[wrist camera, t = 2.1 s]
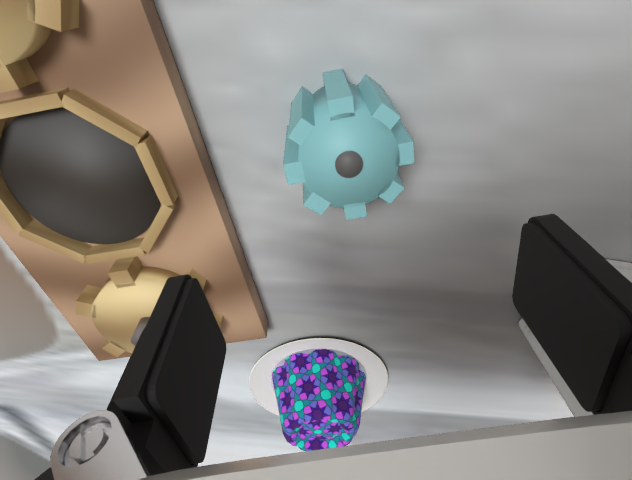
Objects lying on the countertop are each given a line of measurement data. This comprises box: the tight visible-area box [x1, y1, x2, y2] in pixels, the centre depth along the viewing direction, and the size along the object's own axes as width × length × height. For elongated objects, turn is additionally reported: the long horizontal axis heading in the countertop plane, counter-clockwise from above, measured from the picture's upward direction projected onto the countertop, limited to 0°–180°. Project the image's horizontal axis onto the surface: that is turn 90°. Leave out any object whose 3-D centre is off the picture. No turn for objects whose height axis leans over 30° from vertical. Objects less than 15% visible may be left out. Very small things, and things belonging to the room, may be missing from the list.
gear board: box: [0, 0, 268, 361], centre depth 20 cm, size 28×13×4 cm, turn 10°
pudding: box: [249, 338, 388, 451], centre depth 32 cm, size 12×12×5 cm
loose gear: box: [283, 69, 414, 220], centre depth 19 cm, size 6×6×5 cm
